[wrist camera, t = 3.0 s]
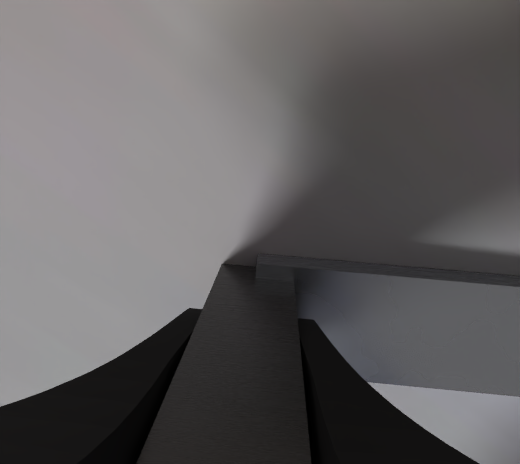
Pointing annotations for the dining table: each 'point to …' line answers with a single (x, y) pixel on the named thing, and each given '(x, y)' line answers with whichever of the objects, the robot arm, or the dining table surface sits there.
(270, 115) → the dining table surface
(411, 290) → the grey l-shaped block
